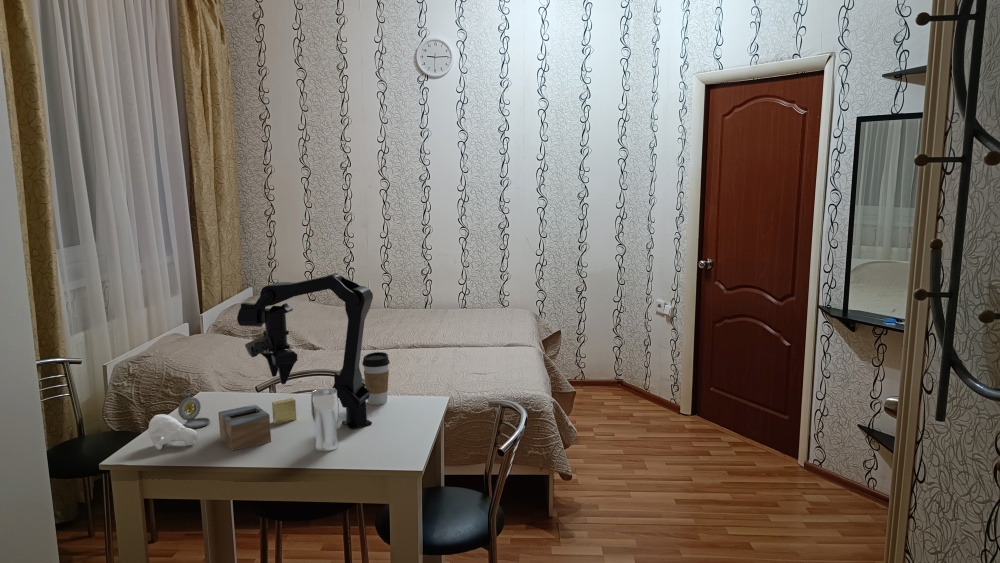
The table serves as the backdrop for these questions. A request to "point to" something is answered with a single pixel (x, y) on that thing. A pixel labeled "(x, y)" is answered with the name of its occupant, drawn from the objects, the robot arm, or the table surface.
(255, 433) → the box
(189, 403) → the pocket watch
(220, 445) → the table surface
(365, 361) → the coffee cup
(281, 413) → the block
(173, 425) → the white animal skull
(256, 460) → the table surface
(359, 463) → the table surface
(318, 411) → the beer glass
